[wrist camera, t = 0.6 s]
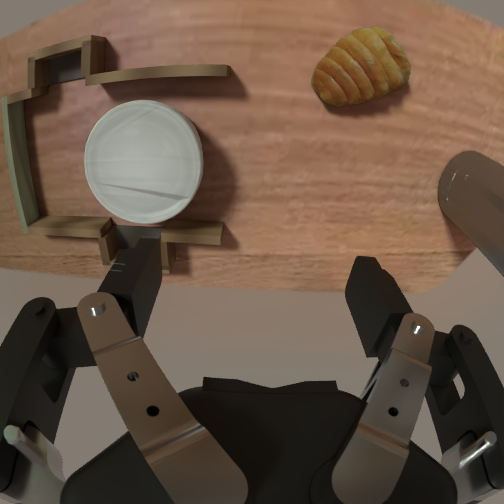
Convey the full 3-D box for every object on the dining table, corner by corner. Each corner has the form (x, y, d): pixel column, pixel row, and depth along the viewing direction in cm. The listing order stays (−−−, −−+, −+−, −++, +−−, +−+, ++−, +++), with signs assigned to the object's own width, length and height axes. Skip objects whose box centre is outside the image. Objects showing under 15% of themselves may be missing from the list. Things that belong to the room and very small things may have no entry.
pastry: (334, 122, 27) (345, 128, 23) (293, 64, 24) (299, 62, 21) (407, 78, 23) (426, 79, 20) (371, 21, 21) (386, 14, 17)
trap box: (232, 26, 22) (230, 20, 19) (222, 261, 35) (220, 277, 32) (17, 62, 21) (1, 64, 18) (43, 248, 34) (32, 260, 32)
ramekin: (135, 216, 32) (117, 240, 28) (91, 127, 26) (64, 139, 22) (228, 180, 30) (223, 201, 25) (185, 78, 24) (170, 78, 20)
